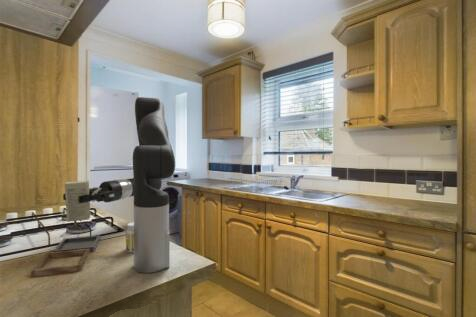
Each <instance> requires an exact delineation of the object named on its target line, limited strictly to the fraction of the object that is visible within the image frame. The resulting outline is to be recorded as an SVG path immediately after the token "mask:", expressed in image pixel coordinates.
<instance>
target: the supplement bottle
mask: <svg viewBox="0 0 476 317" xmlns="http://www.w3.org/2000/svg"><path fill="white" fill-rule="evenodd" d="M126 228H127V229H126V231H125V251H126V252H127V253H134V221H132V222H128V223H127V224H126Z"/></svg>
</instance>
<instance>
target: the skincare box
mask: <svg viewBox="0 0 476 317" xmlns="http://www.w3.org/2000/svg"><path fill="white" fill-rule="evenodd" d="M89 182H90V180H81V181H80V180H79V181H77V180H75V181H67V182H65V183H64V193H65V197H66V200H65V209H66V210H65V212H66V222H67V223H68V222H69V223H71V222H78V221H79V222H80V221H87V220H90V218H91V201H89V202H84V203H79V202H78V197H79V196H82V195H87V194H89V188H90V183H89Z"/></svg>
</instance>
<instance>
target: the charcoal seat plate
mask: <svg viewBox="0 0 476 317" xmlns="http://www.w3.org/2000/svg"><path fill="white" fill-rule="evenodd" d="M100 241H101V235H89V236H81V237H80V236H77V237H65V238H62V240H61V241H60V242H59V243H58V244H57V246H56V247H55V248H54V249H53V250H52V252H59V251H69V250H79V249H89V248H90V253H93V252H95V251H96V249H97V247H98V245H99V243H100Z"/></svg>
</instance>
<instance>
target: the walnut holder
mask: <svg viewBox="0 0 476 317" xmlns="http://www.w3.org/2000/svg"><path fill="white" fill-rule="evenodd" d="M90 253H91V252H90V248H89V249H79V250H69V251H59V252H53V251H52V252H47V253H46V254H45V255H44V256H43V257H42V259H41V260H40V261H39V262H38V263H37V264H36V265H35V267H33V268H32V269H31V270H30V271H31V273H30V274H31V275H30V276H31V278H32V277H33V278H34V277H41V276H50V275H57V274H58V275H59V274H66V273H73V272H76V273H77V272H81V271H82V270H83V268H84V265H85V263H86V262H87V260H88V258H89V256H90ZM74 256H75V257H76V256H81V259H80V260H79V261H78V263H77V264H69V265H62V266H54V267H52V266H51V267H44V266H45V265H47V263H48V262H49V260H51V259H57V258H59V259H60V258H69V257H74Z"/></svg>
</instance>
